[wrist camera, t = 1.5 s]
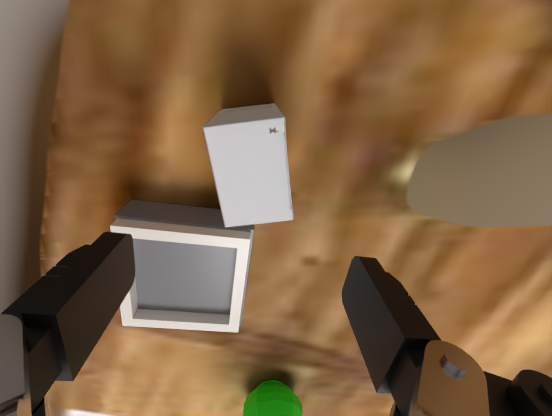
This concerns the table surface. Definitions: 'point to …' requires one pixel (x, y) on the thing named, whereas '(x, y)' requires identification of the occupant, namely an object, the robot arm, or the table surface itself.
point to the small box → (250, 164)
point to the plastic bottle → (272, 401)
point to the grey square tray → (184, 267)
